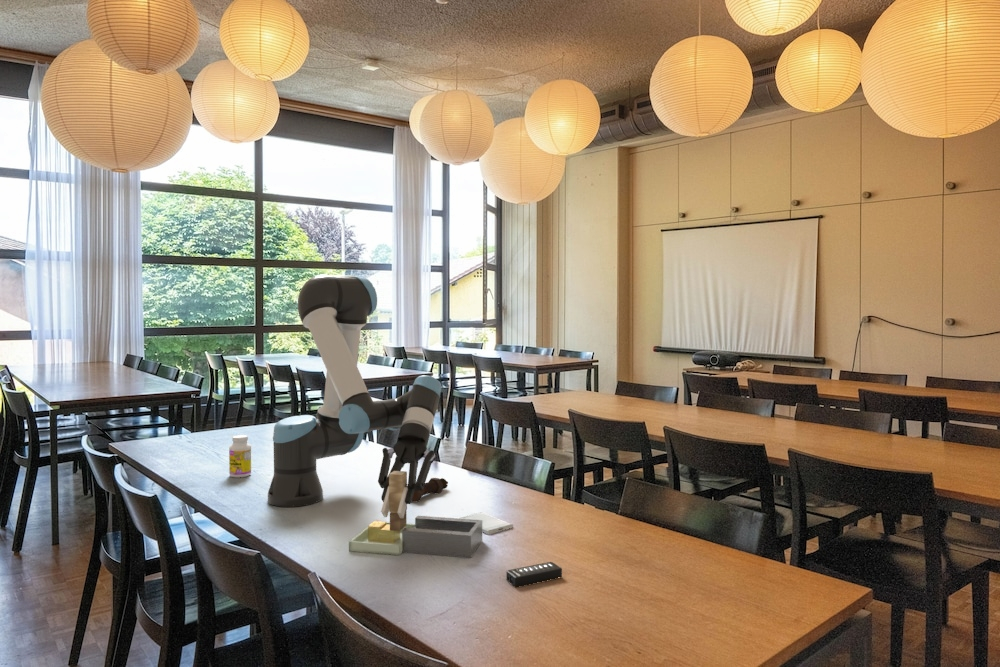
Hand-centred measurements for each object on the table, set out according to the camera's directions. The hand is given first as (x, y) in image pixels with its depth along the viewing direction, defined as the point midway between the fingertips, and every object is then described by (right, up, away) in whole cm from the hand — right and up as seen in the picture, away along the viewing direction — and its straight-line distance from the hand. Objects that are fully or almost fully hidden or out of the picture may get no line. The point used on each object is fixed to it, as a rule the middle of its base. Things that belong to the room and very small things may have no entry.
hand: (392, 514), depth 156 cm
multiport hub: (+32, -9, -16) cm, 37 cm away
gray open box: (+12, -8, +2) cm, 14 cm away
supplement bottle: (-60, -5, +66) cm, 89 cm away
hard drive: (+21, -8, +18) cm, 28 cm away
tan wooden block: (-1, -7, +5) cm, 9 cm away
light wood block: (-3, -5, +5) cm, 8 cm away
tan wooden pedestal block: (+1, -4, +4) cm, 6 cm away
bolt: (+4, -6, +44) cm, 45 cm away
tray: (-2, -8, +5) cm, 9 cm away
